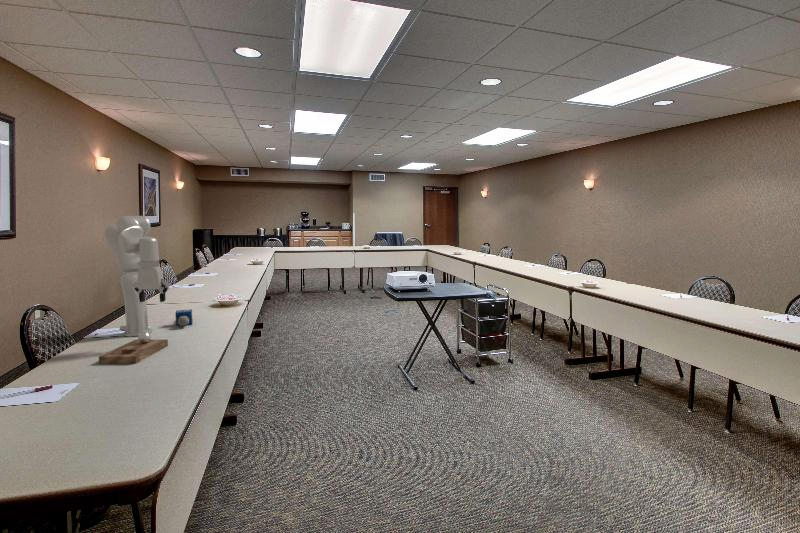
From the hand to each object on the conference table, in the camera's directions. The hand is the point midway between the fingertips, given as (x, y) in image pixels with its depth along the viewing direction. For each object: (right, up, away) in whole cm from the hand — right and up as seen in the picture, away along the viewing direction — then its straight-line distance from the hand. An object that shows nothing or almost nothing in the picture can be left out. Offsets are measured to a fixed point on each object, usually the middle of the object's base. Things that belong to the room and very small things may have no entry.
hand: (152, 301), depth 197 cm
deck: (0, -22, -13) cm, 25 cm away
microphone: (-6, -16, +41) cm, 44 cm away
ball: (0, -16, -6) cm, 17 cm away
